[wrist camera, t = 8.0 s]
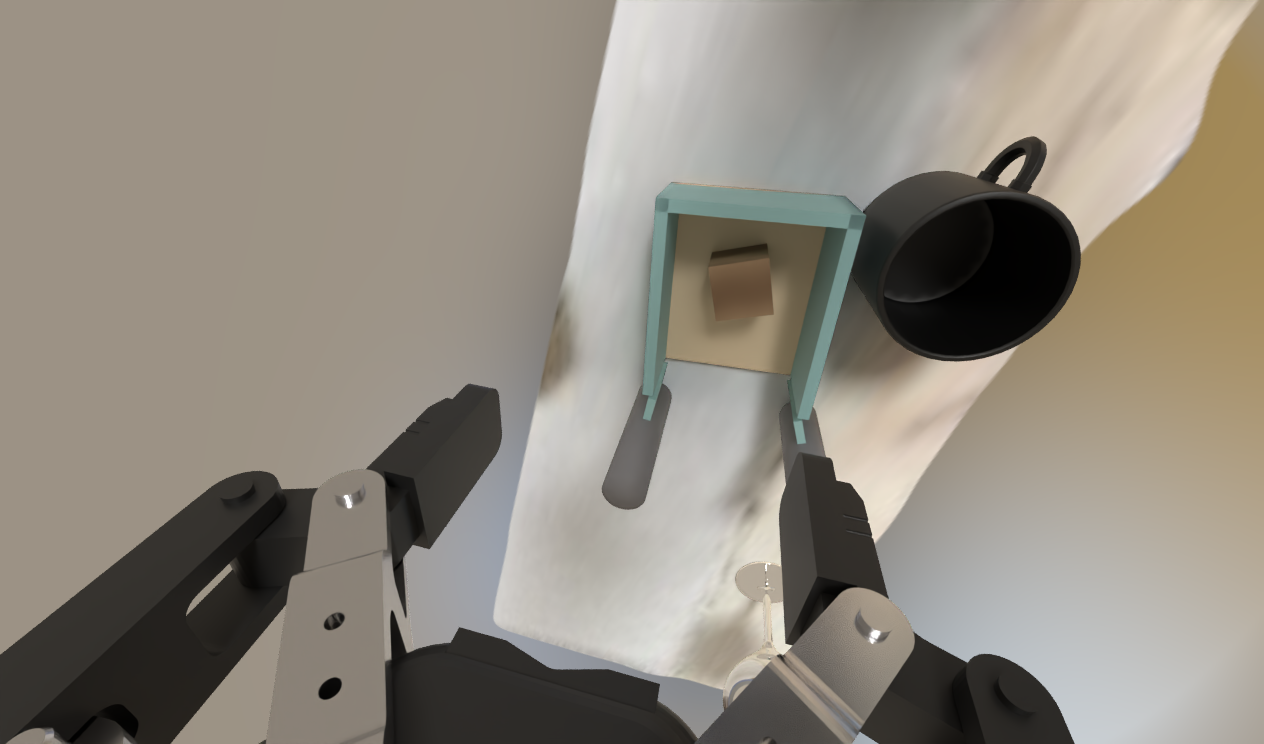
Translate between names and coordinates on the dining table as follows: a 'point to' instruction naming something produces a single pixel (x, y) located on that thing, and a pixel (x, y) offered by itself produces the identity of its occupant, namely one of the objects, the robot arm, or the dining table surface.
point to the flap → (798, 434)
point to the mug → (967, 259)
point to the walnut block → (741, 282)
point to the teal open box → (800, 278)
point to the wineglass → (764, 587)
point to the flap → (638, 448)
